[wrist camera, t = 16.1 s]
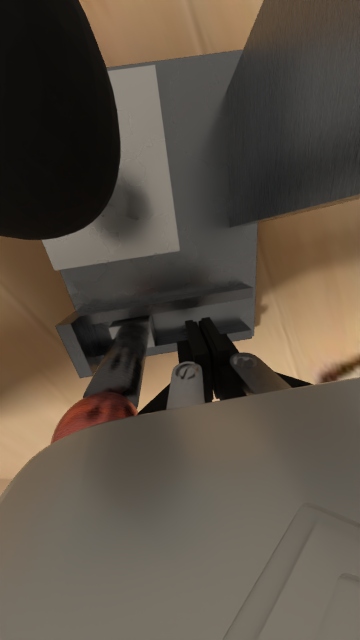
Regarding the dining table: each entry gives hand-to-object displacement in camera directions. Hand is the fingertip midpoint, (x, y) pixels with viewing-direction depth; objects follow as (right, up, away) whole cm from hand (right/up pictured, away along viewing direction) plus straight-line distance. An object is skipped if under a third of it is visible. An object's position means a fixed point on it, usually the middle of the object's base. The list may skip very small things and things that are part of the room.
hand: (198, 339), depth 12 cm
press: (-3, +7, +2) cm, 8 cm away
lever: (-5, +1, +3) cm, 6 cm away
